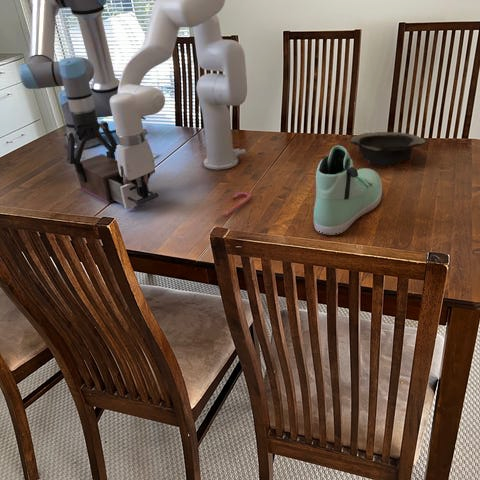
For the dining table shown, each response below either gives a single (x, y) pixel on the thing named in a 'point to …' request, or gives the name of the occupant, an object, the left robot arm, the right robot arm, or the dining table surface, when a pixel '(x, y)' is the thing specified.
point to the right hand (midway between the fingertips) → (143, 195)
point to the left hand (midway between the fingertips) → (98, 175)
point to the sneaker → (343, 192)
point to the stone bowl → (386, 147)
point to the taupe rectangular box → (98, 176)
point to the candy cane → (237, 206)
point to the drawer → (127, 192)
